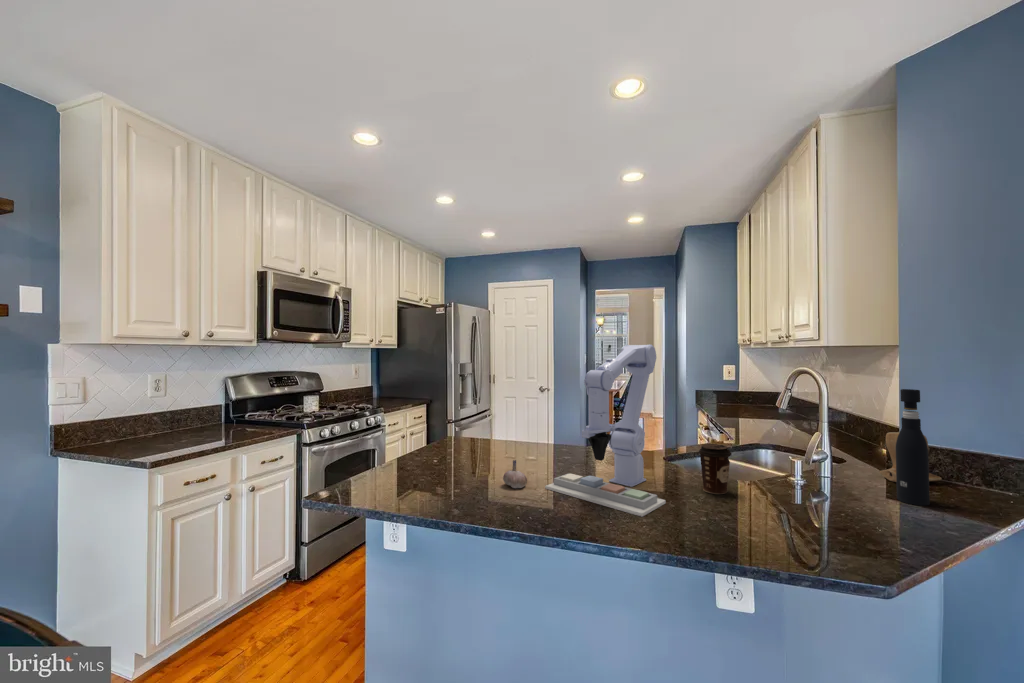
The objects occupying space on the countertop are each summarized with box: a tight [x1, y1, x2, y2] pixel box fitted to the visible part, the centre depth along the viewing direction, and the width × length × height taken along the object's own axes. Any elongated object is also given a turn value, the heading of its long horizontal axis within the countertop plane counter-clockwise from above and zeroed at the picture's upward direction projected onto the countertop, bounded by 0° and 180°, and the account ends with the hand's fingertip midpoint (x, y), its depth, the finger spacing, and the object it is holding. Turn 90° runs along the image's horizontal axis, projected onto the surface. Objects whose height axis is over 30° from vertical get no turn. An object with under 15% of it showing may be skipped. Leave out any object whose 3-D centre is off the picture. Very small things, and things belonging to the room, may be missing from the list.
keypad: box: [544, 473, 667, 518], centre depth 120 cm, size 13×31×3 cm, turn 45°
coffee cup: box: [698, 443, 732, 495], centre depth 123 cm, size 9×8×13 cm
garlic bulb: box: [502, 459, 528, 489], centre depth 128 cm, size 8×7×8 cm
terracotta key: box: [601, 482, 625, 494], centre depth 117 cm, size 5×5×2 cm
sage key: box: [624, 488, 650, 500], centre depth 112 cm, size 5×5×2 cm
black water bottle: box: [895, 388, 931, 507], centre depth 114 cm, size 6×6×30 cm
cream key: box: [561, 473, 584, 483], centre depth 127 cm, size 5×5×2 cm
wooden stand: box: [879, 431, 943, 483], centre depth 133 cm, size 15×12×15 cm
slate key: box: [580, 475, 604, 488], centre depth 122 cm, size 5×5×2 cm
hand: (599, 459), depth 121 cm, fingers closed
